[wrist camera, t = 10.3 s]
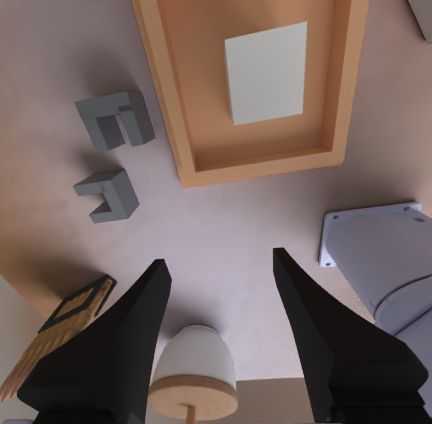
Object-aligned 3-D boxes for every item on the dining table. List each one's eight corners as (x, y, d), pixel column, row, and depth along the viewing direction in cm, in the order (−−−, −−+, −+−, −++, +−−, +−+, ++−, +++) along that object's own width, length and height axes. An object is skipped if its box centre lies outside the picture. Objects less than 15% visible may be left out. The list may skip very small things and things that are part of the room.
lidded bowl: (168, 352, 38) (150, 438, 28) (158, 314, 31) (130, 406, 22) (233, 354, 37) (237, 441, 28) (235, 315, 31) (241, 410, 22)
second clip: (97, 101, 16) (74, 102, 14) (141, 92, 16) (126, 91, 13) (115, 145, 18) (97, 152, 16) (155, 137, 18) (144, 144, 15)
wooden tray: (371, -94, 11) (417, -153, 9) (335, 162, 18) (354, 171, 16) (128, -26, 13) (104, -59, 10) (184, 184, 20) (178, 197, 17)
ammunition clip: (73, 306, 31) (-2, 409, 21) (63, 299, 30) (-20, 403, 20) (117, 281, 28) (55, 389, 17) (107, 274, 27) (36, 381, 17)
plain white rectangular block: (279, 46, 14) (307, 21, 9) (280, 110, 16) (302, 113, 11) (223, 58, 14) (224, 39, 10) (230, 119, 16) (233, 125, 12)
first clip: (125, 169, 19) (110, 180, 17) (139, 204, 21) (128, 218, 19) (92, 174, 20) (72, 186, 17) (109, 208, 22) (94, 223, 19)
